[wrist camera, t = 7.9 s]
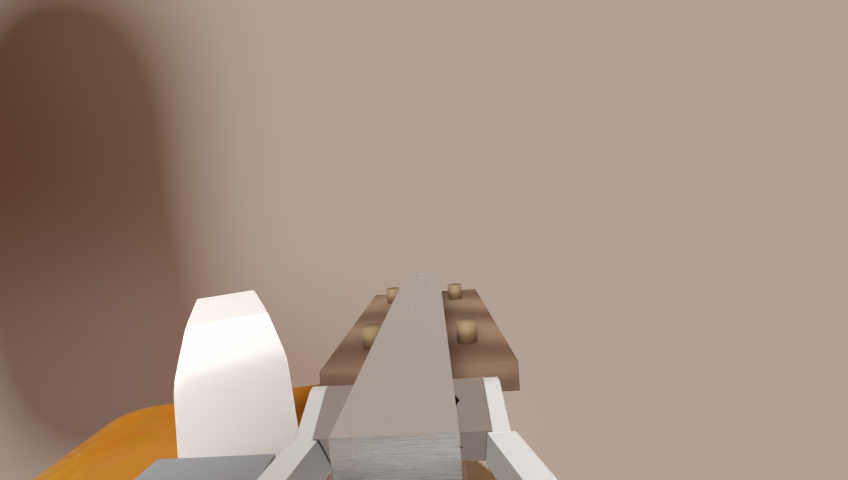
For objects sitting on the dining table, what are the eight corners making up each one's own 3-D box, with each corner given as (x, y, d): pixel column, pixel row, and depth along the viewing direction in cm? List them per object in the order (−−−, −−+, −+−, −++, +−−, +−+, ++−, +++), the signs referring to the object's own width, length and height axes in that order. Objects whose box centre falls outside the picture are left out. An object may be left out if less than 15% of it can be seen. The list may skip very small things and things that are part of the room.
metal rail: (466, 535, 7) (459, 431, 7) (337, 540, 7) (328, 438, 7) (440, 297, 29) (438, 270, 29) (408, 299, 29) (406, 273, 29)
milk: (186, 574, 31) (152, 317, 30) (193, 494, 41) (169, 297, 39) (311, 507, 38) (289, 293, 36) (292, 451, 47) (274, 281, 46)
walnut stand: (560, 819, 17) (537, 336, 16) (344, 821, 18) (297, 350, 16) (499, 531, 33) (484, 276, 32) (386, 535, 34) (365, 284, 32)
